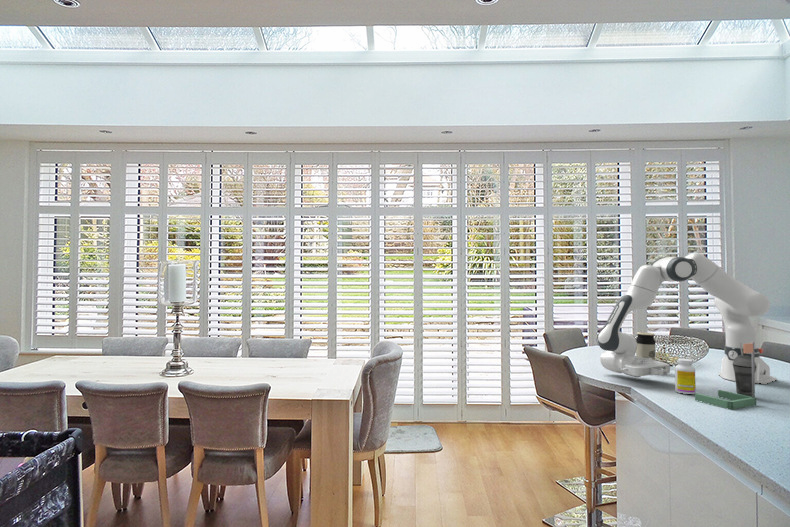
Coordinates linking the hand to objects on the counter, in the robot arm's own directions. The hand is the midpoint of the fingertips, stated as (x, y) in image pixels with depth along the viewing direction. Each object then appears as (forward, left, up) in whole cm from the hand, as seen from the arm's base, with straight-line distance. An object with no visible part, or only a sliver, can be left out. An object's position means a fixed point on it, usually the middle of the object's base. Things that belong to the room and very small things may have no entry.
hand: (665, 372), depth 186 cm
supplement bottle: (0, +8, -6) cm, 10 cm away
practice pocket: (0, +22, -6) cm, 23 cm away
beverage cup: (-16, +20, -6) cm, 27 cm away
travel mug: (-22, -26, -6) cm, 35 cm away
